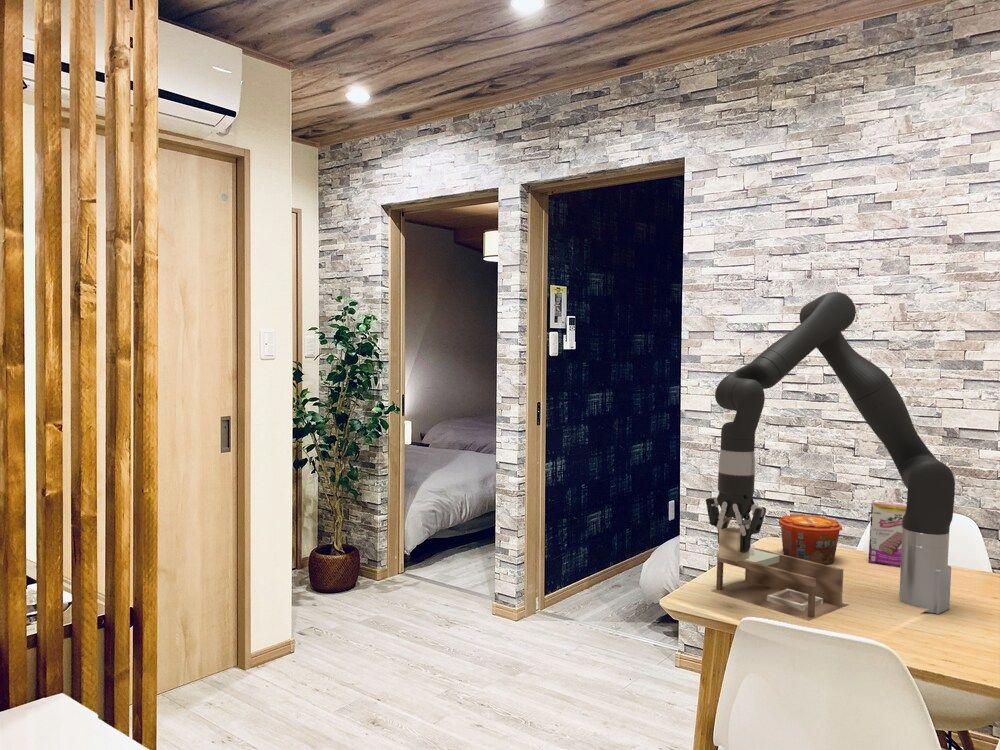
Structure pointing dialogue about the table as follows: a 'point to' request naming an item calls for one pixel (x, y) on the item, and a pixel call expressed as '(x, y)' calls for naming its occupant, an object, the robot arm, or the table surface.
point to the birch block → (731, 545)
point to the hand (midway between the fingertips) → (733, 549)
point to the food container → (810, 537)
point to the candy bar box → (886, 532)
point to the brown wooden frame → (787, 586)
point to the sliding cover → (762, 557)
